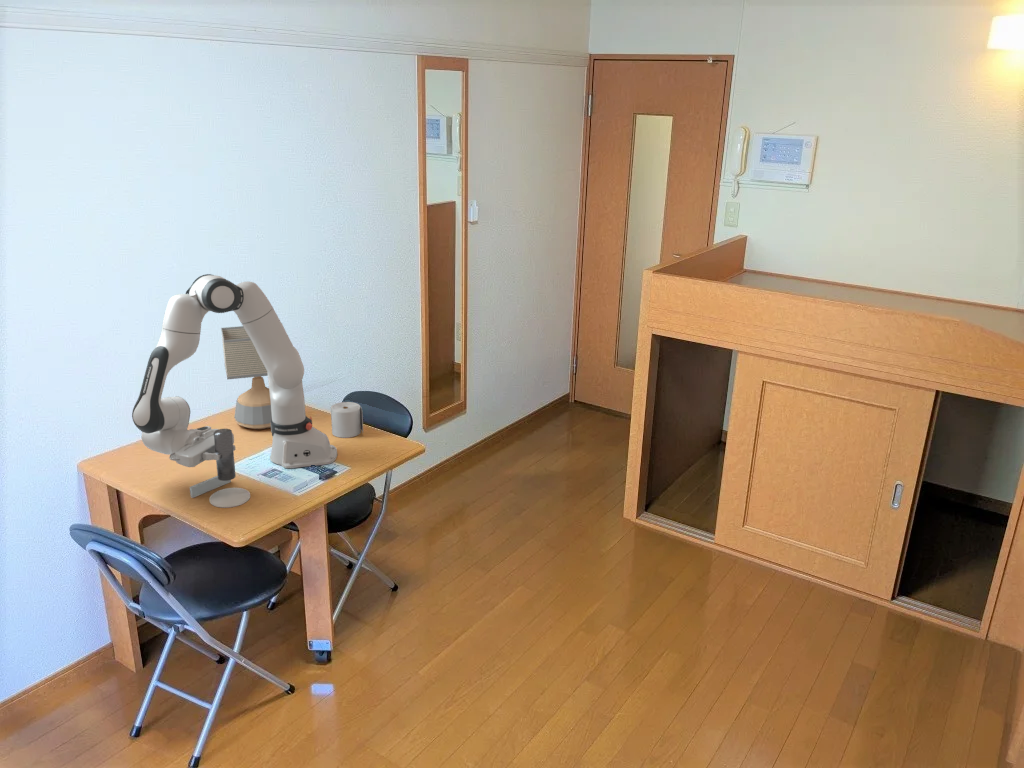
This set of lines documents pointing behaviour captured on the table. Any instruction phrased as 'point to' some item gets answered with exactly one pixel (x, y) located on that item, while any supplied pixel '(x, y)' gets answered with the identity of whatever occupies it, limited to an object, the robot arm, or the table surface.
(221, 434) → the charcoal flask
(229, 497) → the resting pad
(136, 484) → the table surface
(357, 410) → the toilet tissue
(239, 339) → the desk lamp
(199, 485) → the acrylic wall
